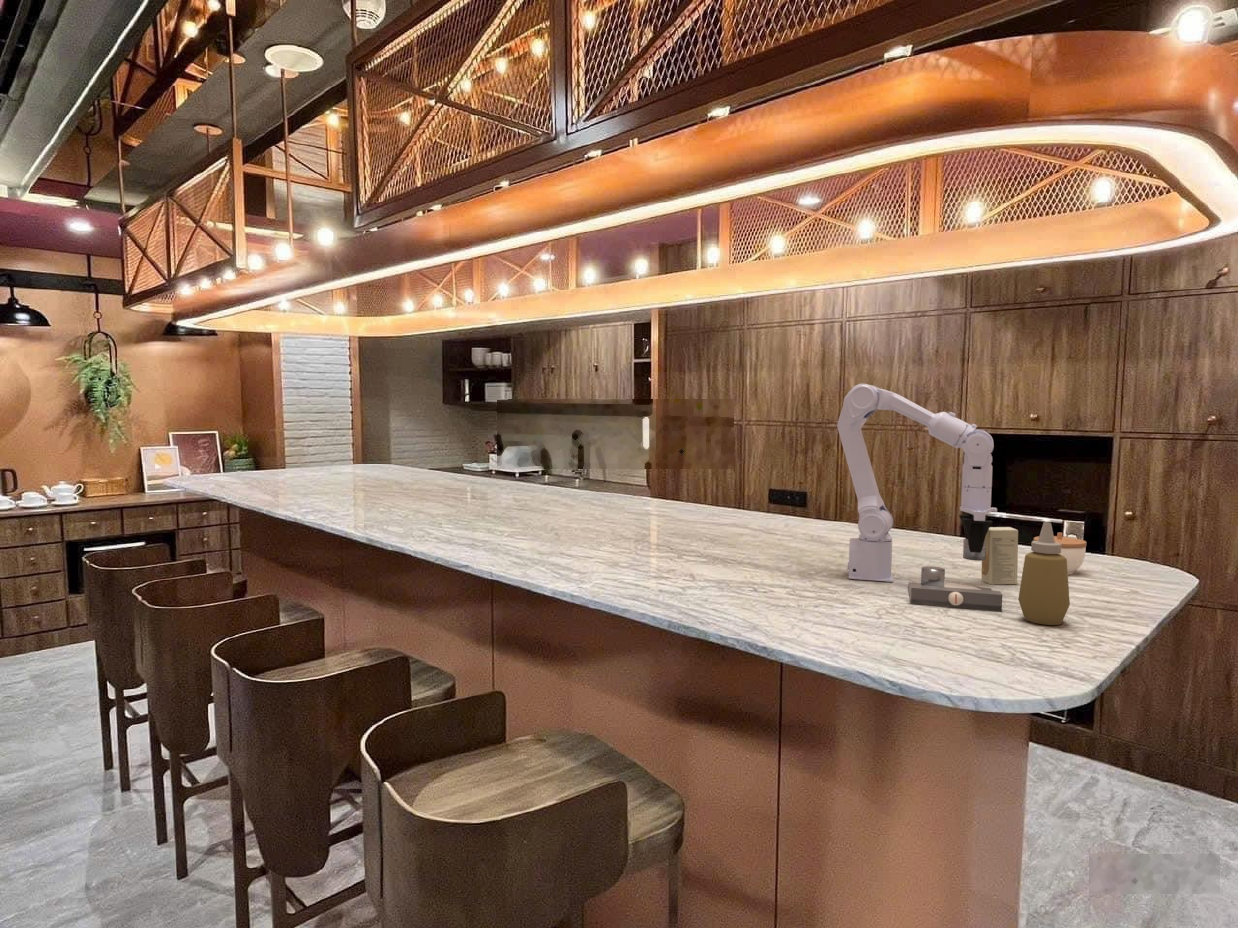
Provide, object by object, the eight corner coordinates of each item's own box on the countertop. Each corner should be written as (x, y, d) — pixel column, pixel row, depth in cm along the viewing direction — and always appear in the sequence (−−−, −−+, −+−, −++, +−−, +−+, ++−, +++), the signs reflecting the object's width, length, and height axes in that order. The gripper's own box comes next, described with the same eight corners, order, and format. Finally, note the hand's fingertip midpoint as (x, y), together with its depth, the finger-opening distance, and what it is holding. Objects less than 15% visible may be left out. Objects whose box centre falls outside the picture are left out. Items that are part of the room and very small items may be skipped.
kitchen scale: (910, 604, 141) (911, 588, 141) (908, 586, 156) (908, 572, 156) (1002, 612, 136) (1002, 595, 136) (990, 593, 150) (991, 577, 150)
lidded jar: (1022, 567, 176) (1023, 529, 175) (1062, 566, 177) (1064, 528, 176) (1053, 577, 165) (1055, 537, 164) (1096, 576, 166) (1098, 536, 165)
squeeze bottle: (1025, 612, 136) (1029, 517, 134) (1074, 621, 130) (1079, 522, 129) (1011, 621, 130) (1015, 522, 129) (1062, 630, 124) (1066, 527, 123)
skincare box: (1009, 580, 162) (1011, 526, 161) (1017, 584, 158) (1020, 529, 157) (979, 579, 162) (981, 526, 162) (987, 584, 158) (989, 529, 157)
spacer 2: (964, 559, 153) (964, 541, 152) (961, 555, 157) (962, 537, 157) (987, 561, 151) (987, 542, 151) (984, 557, 155) (984, 538, 155)
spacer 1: (921, 589, 147) (922, 569, 147) (920, 584, 151) (920, 565, 151) (945, 591, 145) (945, 571, 145) (943, 586, 150) (943, 567, 149)
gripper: (1002, 491, 145) (1000, 557, 146) (992, 484, 158) (990, 545, 159) (964, 489, 147) (961, 555, 148) (957, 483, 161) (955, 543, 162)
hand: (974, 549), depth 154 cm, fingers closed on spacer 2, 4 cm apart
